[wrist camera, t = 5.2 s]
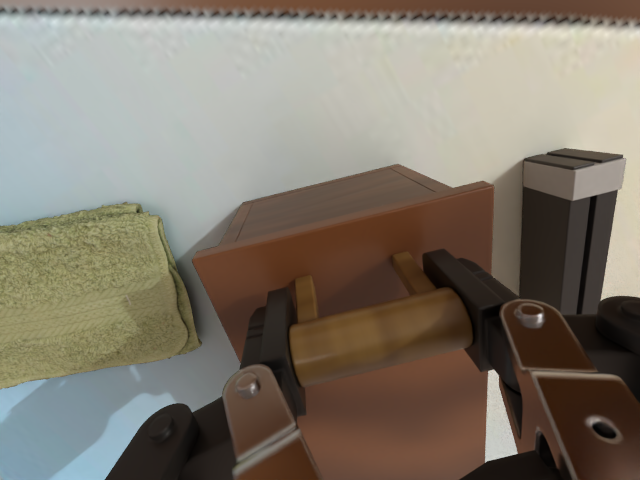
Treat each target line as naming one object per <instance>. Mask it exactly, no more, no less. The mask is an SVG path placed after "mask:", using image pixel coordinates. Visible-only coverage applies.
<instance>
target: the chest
mask: <svg viewBox="0 0 640 480" xmlns="http://www.w3.org/2000/svg"><path fill="white" fill-rule="evenodd" d="M451 188H452V187H449V186H447V185H445V184H443V183H440V182H438V181H436V180H434V179H431V178H429V177H427V176H425V175H422V174H420V173H418V172H415V171H413V170H411V169H409V168H406V167H404V166H401V165H399V164H396V165H392V166H388V167H384V168H380V169H376V170H372V171H368V172H364V173H360V174H356V175H352V176H348V177H344V178H340V179H336V180H332V181H328V182H324V183H319V184H315V185H311V186H307V187H303V188H299V189H295V190H291V191H287V192H283V193H279V194H275V195H271V196H267V197H263V198H259V199H255V200H251V201H247V202H243V204H242V205H241V207H240V208H239V210H238V212H237V214H236V215H235V217H234V219H233V221H232V223H231V224H230V226H229V228H228V230H227V231H226V233H225V235H224V237H223V238H222V240H221V242H220V244H219V246H221V245H225V244H229V243H233V242H237V241H241V240H245V239H249V238H253V237H257V236H261V235H265V234H269V233H273V232H277V231H282V230H286V229H290V228H294V227H298V226H302V225H306V224H310V223H314V222H318V221H322V220H326V219H330V218H334V217H338V216H342V215H346V214H350V213H354V212H358V211H362V210H366V209H370V208H375V207H379V206H383V205H387V204H391V203H395V202H399V201H403V200H407V199H411V198H415V197H419V196H423V195H427V194H431V193H435V192H439V191H443V190H447V189H451Z"/></svg>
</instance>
